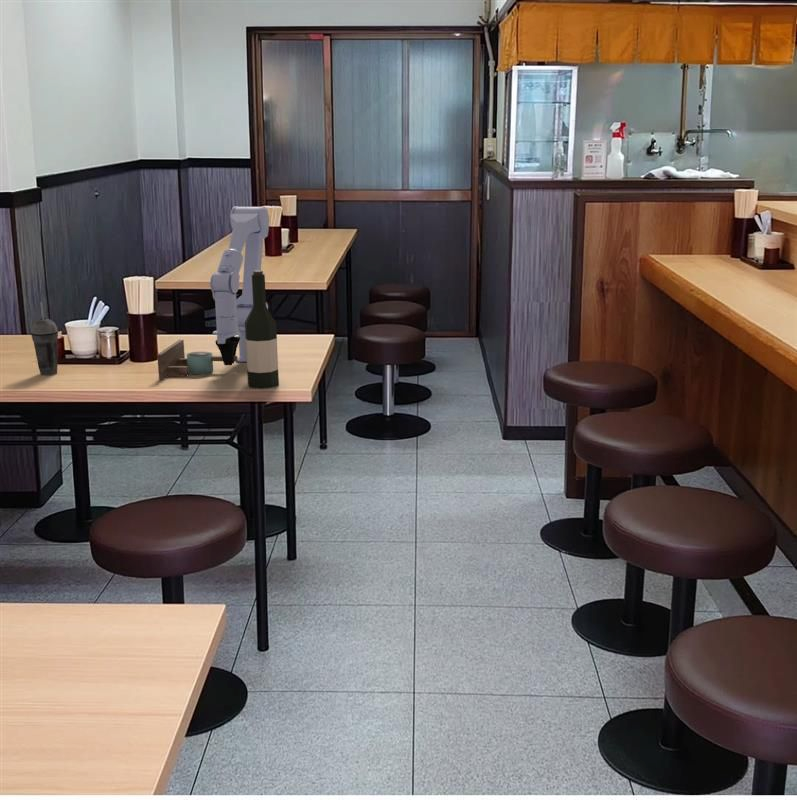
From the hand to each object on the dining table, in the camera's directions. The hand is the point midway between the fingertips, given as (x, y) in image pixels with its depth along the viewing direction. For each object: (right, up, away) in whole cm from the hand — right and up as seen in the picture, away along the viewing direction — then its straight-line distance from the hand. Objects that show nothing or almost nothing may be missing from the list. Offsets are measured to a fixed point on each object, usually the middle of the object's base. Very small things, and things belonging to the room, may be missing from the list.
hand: (229, 364), depth 280 cm
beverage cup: (-51, -3, +1) cm, 51 cm away
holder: (-14, -2, +2) cm, 14 cm away
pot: (-5, -2, +1) cm, 5 cm away
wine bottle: (+11, -6, -14) cm, 19 cm away
